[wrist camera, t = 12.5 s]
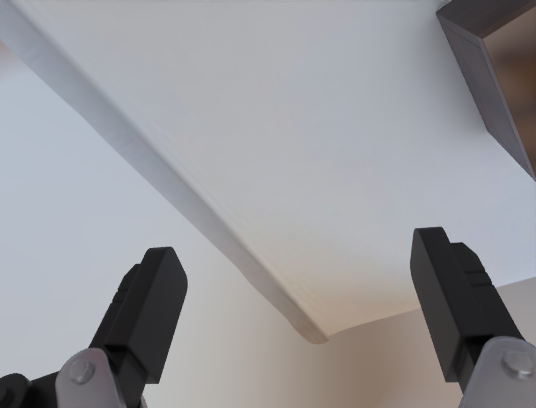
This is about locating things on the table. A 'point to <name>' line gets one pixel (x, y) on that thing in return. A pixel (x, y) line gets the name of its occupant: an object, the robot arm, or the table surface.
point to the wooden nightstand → (499, 68)
